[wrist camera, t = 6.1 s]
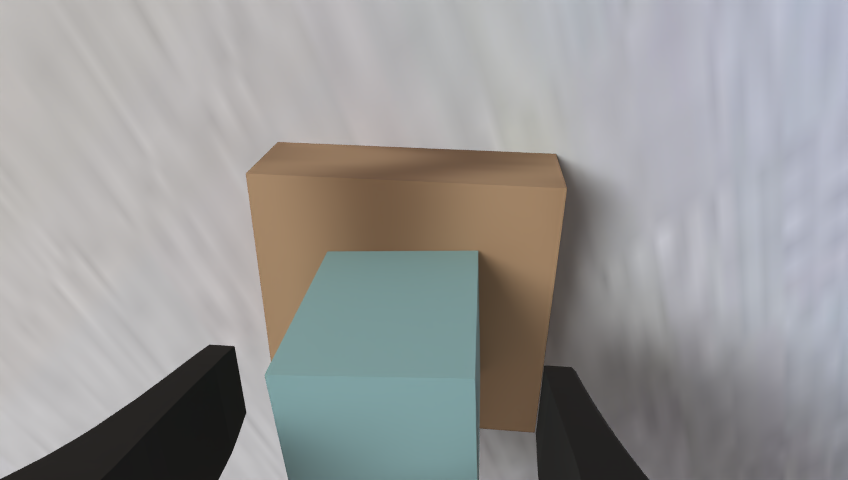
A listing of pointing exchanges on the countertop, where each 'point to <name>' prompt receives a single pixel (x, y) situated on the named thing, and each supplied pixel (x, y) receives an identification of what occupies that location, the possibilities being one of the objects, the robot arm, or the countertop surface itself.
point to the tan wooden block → (422, 241)
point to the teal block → (382, 369)
